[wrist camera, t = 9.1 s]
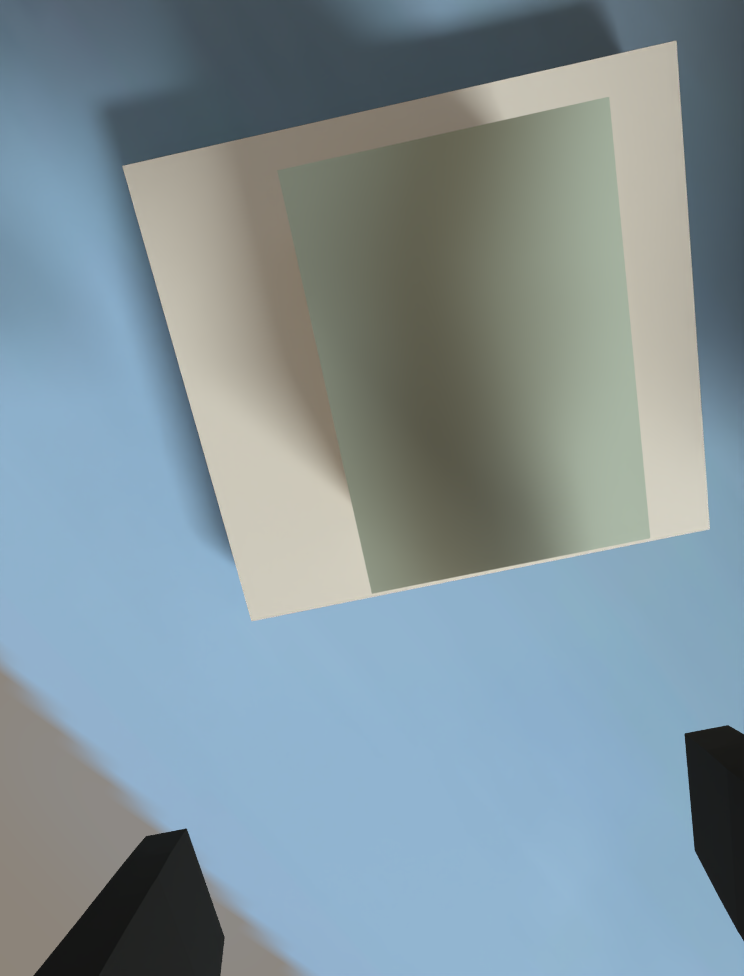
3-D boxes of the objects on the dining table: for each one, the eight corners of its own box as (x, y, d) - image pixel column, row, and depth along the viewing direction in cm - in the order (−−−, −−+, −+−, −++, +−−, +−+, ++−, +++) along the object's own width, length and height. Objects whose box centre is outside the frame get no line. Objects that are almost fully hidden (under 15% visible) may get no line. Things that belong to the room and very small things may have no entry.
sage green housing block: (526, 173, 13) (609, 96, 9) (565, 477, 15) (650, 538, 11) (303, 222, 13) (276, 170, 9) (368, 517, 15) (372, 593, 11)
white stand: (634, 78, 15) (676, 40, 13) (670, 507, 17) (709, 528, 15) (152, 187, 15) (122, 166, 13) (263, 589, 18) (251, 621, 16)
